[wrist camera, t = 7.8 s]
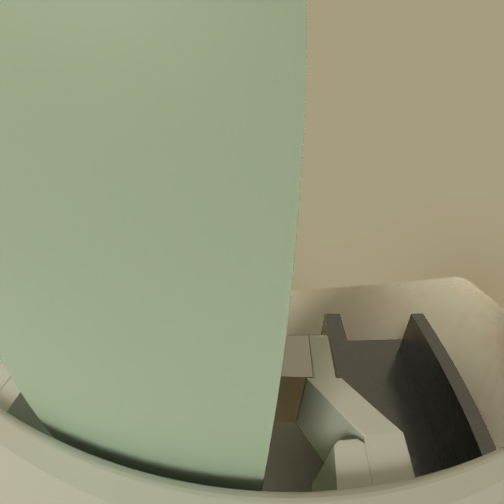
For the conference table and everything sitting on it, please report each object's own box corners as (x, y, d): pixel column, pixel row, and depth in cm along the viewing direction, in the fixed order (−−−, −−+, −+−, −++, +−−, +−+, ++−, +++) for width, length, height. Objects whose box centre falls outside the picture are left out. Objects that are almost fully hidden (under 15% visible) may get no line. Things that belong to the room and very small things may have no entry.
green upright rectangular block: (156, 532, 7) (-47, 36, 1) (204, 362, 18) (194, 93, 12) (249, 548, 7) (303, -89, 1) (264, 368, 18) (281, 93, 12)
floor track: (327, 571, 7) (359, 563, 5) (313, 352, 26) (321, 303, 24) (462, 534, 7) (516, 502, 5) (400, 350, 25) (416, 304, 23)
